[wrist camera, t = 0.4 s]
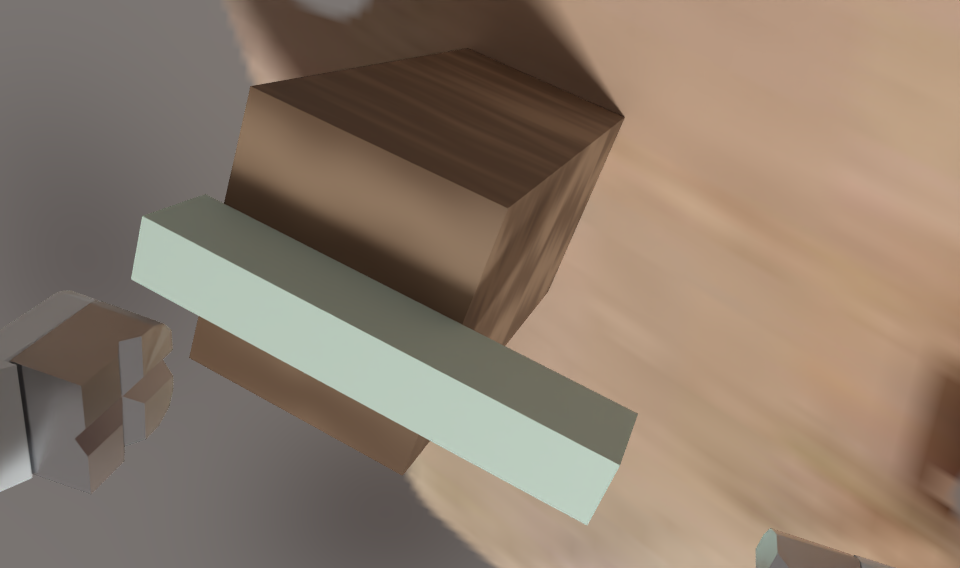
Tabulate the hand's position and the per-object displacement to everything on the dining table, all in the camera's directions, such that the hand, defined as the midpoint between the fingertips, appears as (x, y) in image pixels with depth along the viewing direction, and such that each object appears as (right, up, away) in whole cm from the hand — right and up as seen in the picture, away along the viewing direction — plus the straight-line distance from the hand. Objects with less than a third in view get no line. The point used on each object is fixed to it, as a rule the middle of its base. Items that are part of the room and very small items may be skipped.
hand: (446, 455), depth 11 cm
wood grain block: (+3, +10, +48) cm, 49 cm away
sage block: (-3, 0, +24) cm, 25 cm away
